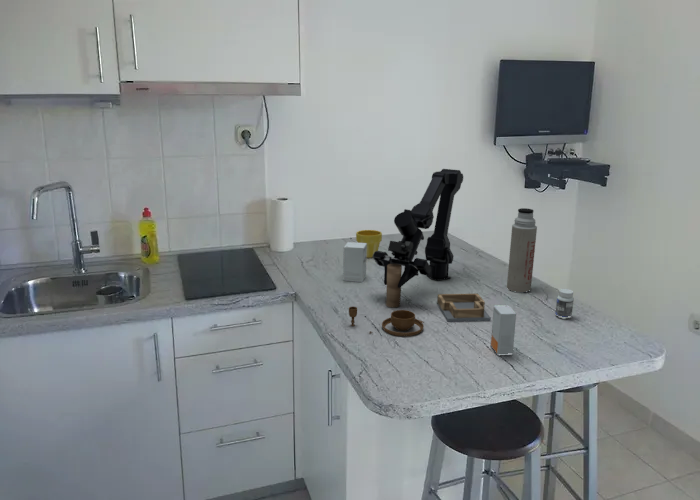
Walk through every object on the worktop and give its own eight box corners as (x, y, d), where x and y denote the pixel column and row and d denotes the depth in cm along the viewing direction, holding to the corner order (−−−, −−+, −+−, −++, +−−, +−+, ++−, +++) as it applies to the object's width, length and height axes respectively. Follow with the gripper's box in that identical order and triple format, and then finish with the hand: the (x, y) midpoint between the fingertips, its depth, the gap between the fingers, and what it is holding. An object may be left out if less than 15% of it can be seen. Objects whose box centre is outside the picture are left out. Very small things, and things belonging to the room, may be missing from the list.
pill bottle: (551, 315, 178) (554, 289, 176) (564, 313, 180) (567, 287, 178) (562, 320, 174) (565, 294, 172) (574, 318, 176) (578, 292, 173)
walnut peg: (395, 301, 188) (396, 263, 184) (403, 306, 184) (404, 266, 180) (383, 303, 186) (384, 264, 182) (390, 308, 182) (391, 268, 178)
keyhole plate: (436, 304, 186) (437, 293, 185) (476, 303, 187) (477, 292, 186) (447, 321, 172) (448, 310, 171) (490, 320, 173) (491, 309, 172)
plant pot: (357, 251, 243) (357, 228, 240) (382, 252, 242) (382, 229, 239) (354, 258, 233) (354, 235, 231) (380, 260, 232) (380, 236, 229)
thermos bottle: (535, 290, 199) (543, 210, 191) (518, 294, 195) (525, 212, 188) (519, 283, 206) (526, 206, 198) (501, 287, 202) (508, 208, 194)
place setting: (403, 346, 158) (404, 326, 156) (344, 327, 169) (345, 308, 167) (435, 325, 171) (436, 307, 169) (378, 309, 183) (379, 292, 181)
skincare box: (489, 346, 157) (493, 305, 153) (505, 346, 157) (508, 304, 154) (497, 356, 151) (500, 313, 147) (513, 356, 151) (517, 313, 148)
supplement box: (363, 282, 206) (363, 248, 202) (342, 281, 207) (342, 246, 204) (366, 276, 213) (367, 242, 209) (346, 274, 214) (347, 241, 211)
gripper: (375, 226, 186) (356, 268, 181) (428, 234, 176) (410, 279, 171) (387, 244, 195) (369, 284, 189) (438, 253, 185) (421, 296, 179)
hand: (391, 285), depth 182 cm, fingers closed on walnut peg, 4 cm apart
